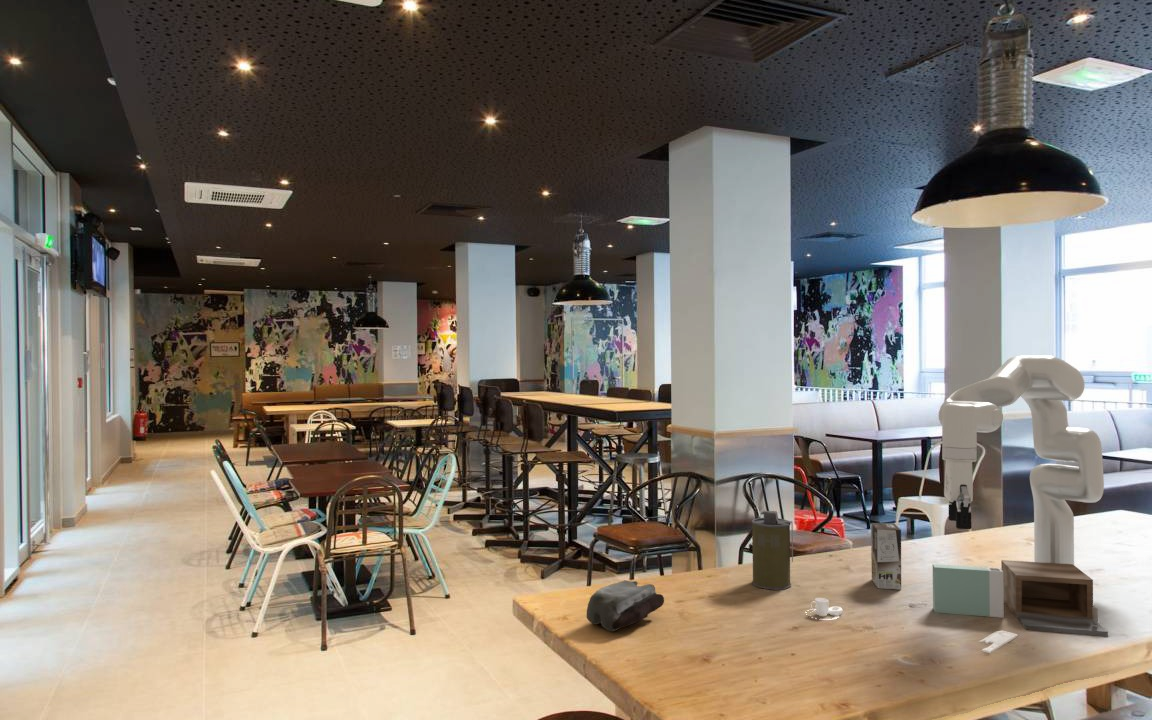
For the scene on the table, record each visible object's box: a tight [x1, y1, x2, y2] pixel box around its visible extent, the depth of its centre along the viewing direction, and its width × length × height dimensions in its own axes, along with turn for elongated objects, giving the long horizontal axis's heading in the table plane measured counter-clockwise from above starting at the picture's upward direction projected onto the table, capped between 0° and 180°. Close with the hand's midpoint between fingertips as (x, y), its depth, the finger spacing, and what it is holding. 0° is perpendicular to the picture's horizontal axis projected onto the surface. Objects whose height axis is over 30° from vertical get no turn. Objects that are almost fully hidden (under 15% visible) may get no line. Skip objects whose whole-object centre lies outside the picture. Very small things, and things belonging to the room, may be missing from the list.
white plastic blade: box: [978, 629, 1018, 654], centre depth 167 cm, size 5×15×1 cm, turn 130°
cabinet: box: [1000, 559, 1109, 637], centre depth 183 cm, size 23×16×10 cm
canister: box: [751, 510, 794, 591], centre depth 210 cm, size 11×10×20 cm
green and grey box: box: [932, 563, 1005, 619], centre depth 186 cm, size 3×15×11 cm, turn 73°
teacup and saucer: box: [804, 597, 844, 621], centre depth 185 cm, size 9×8×4 cm
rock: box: [586, 579, 665, 632], centre depth 181 cm, size 20×12×8 cm, turn 143°
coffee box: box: [870, 522, 902, 590], centre depth 210 cm, size 9×6×16 cm
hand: (959, 524), depth 186 cm, fingers open, 9 cm apart
